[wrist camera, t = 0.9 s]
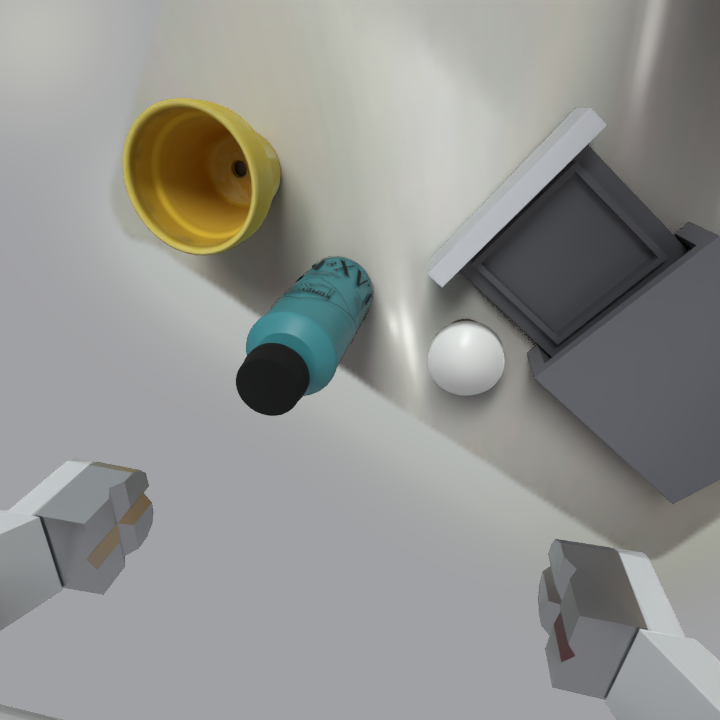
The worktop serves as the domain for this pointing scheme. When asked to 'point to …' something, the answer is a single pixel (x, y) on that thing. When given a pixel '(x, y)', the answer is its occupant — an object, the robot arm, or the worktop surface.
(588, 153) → the tray
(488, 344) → the disc
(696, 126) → the worktop surface
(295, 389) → the beverage bottle
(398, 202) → the worktop surface
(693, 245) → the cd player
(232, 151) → the plant pot
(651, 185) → the worktop surface
